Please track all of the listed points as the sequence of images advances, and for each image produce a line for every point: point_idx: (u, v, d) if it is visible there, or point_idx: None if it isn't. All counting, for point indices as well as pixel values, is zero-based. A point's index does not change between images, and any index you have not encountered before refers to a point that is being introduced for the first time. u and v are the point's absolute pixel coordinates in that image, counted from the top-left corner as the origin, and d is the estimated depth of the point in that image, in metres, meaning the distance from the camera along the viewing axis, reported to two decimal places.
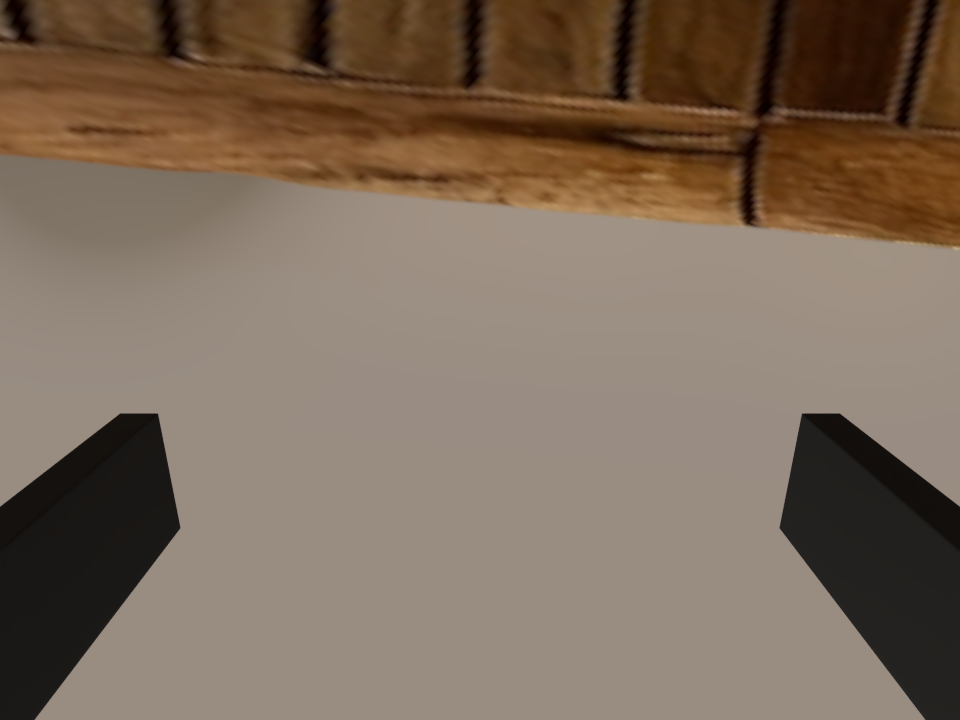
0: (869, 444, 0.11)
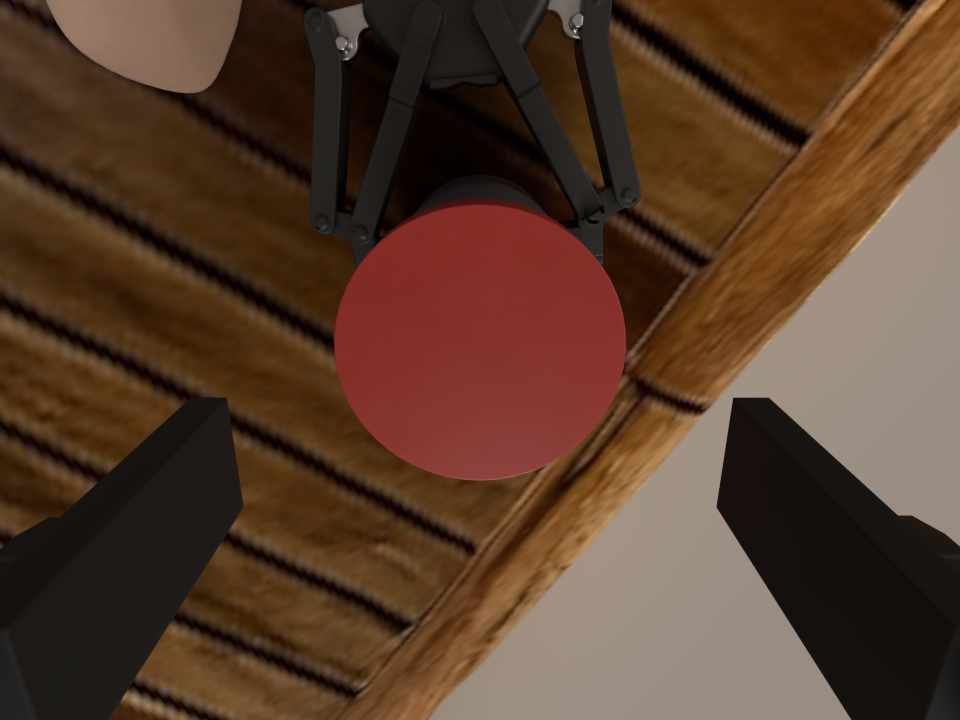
0: (789, 424, 0.12)
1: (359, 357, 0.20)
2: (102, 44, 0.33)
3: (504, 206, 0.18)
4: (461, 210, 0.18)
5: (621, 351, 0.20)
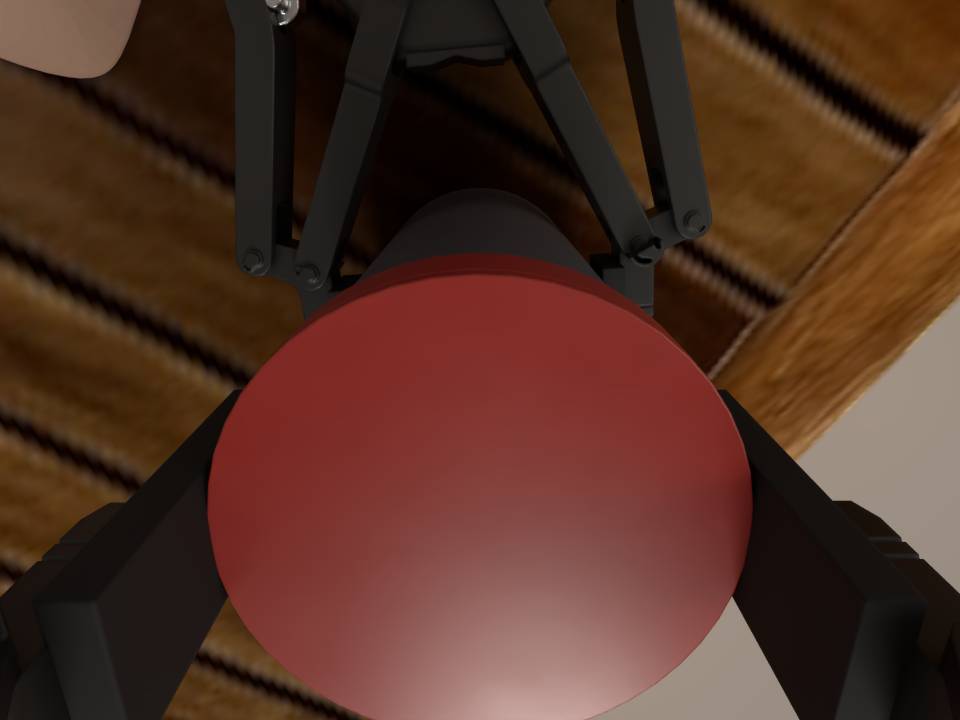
0: (741, 415, 0.12)
1: (256, 547, 0.11)
2: None
3: (529, 277, 0.09)
4: (443, 286, 0.09)
5: (743, 537, 0.11)
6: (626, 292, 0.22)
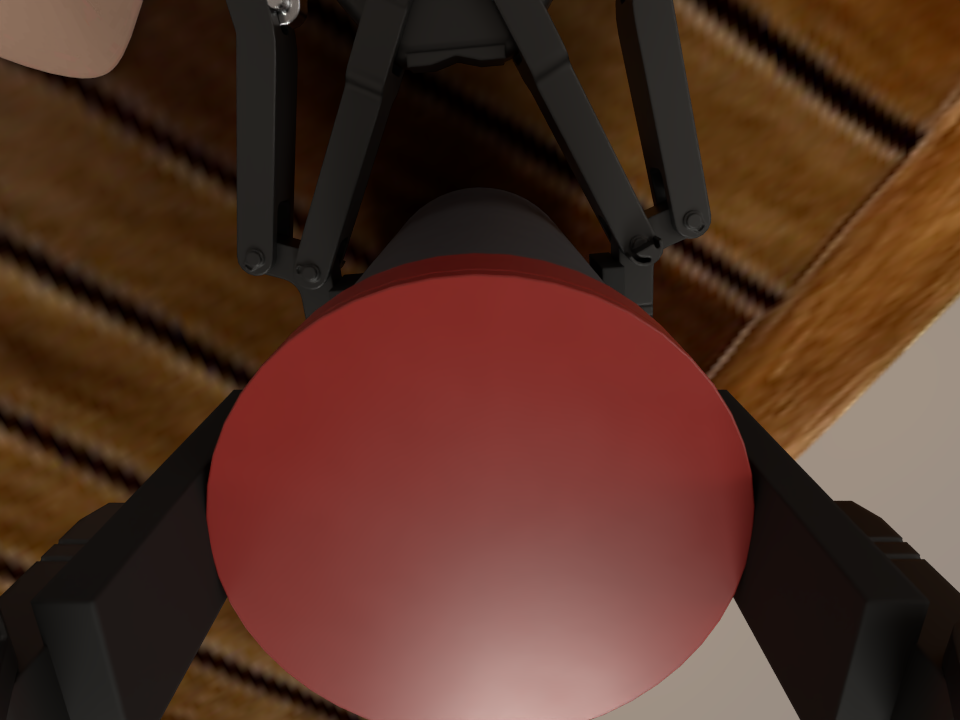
0: (742, 415, 0.12)
1: (460, 709, 0.12)
2: None
3: (211, 471, 0.10)
4: (217, 539, 0.11)
5: (516, 285, 0.09)
6: (626, 291, 0.22)
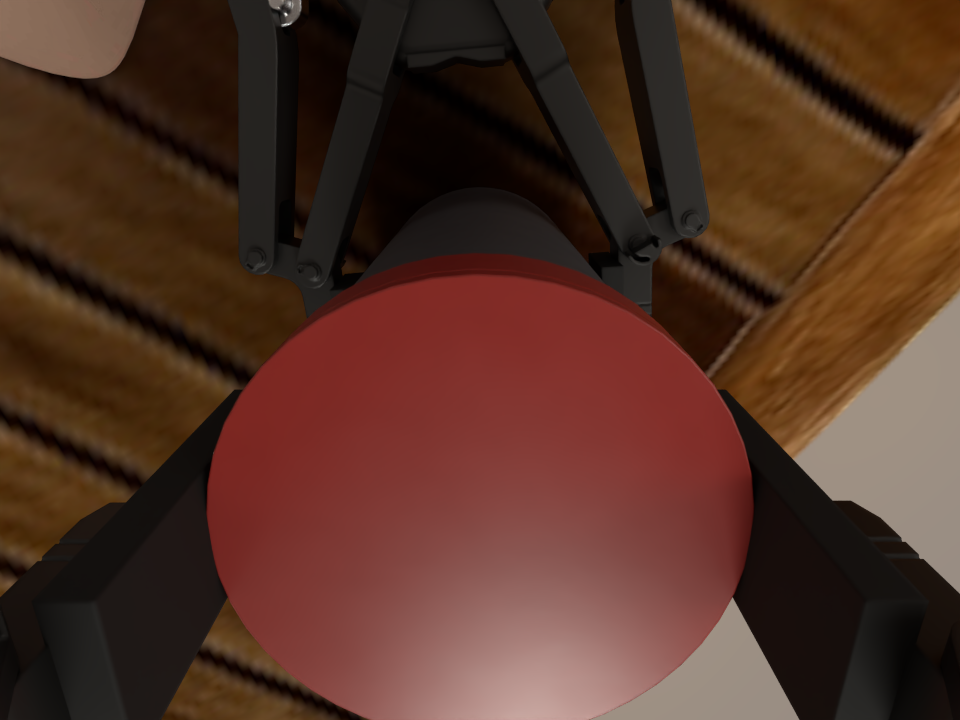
0: (741, 415, 0.12)
1: (693, 584, 0.11)
2: None
3: (383, 718, 0.12)
4: None
5: (215, 485, 0.10)
6: (624, 290, 0.22)
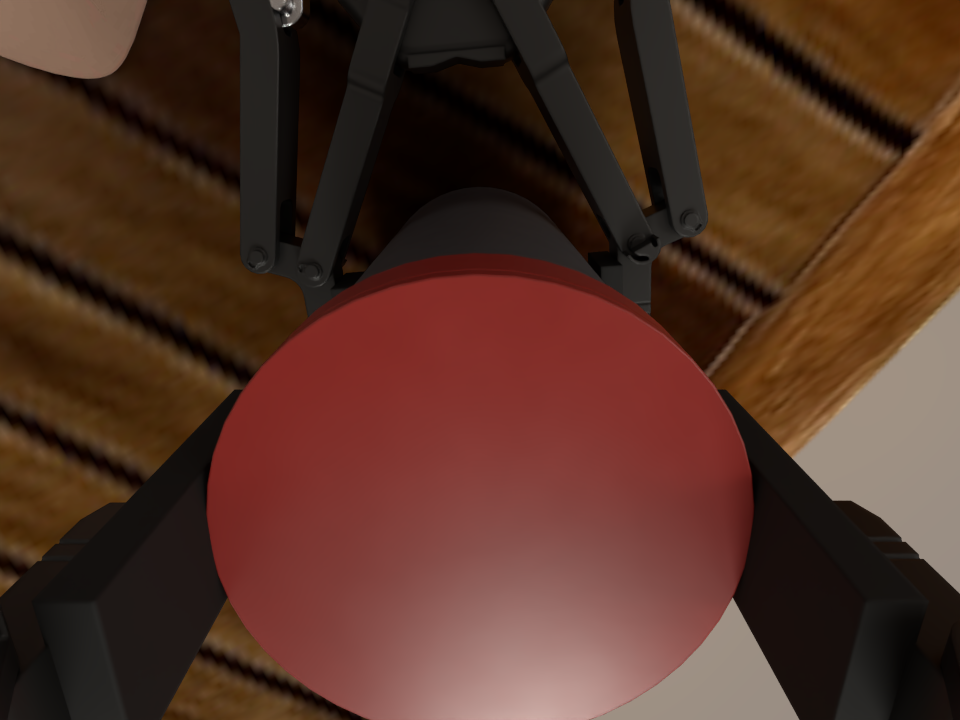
0: (741, 415, 0.12)
1: (570, 342, 0.09)
2: None
3: (691, 647, 0.12)
4: (723, 599, 0.11)
5: None
6: (624, 289, 0.22)
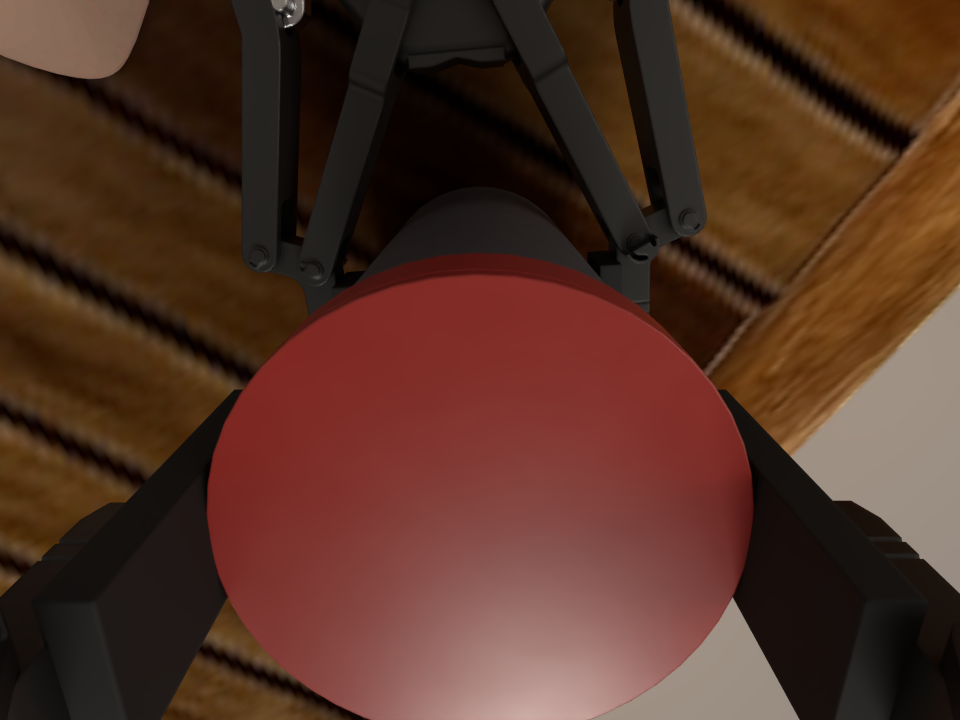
0: (741, 415, 0.12)
1: (269, 447, 0.10)
2: None
3: (671, 341, 0.09)
4: (600, 308, 0.09)
5: (694, 642, 0.11)
6: (623, 288, 0.23)
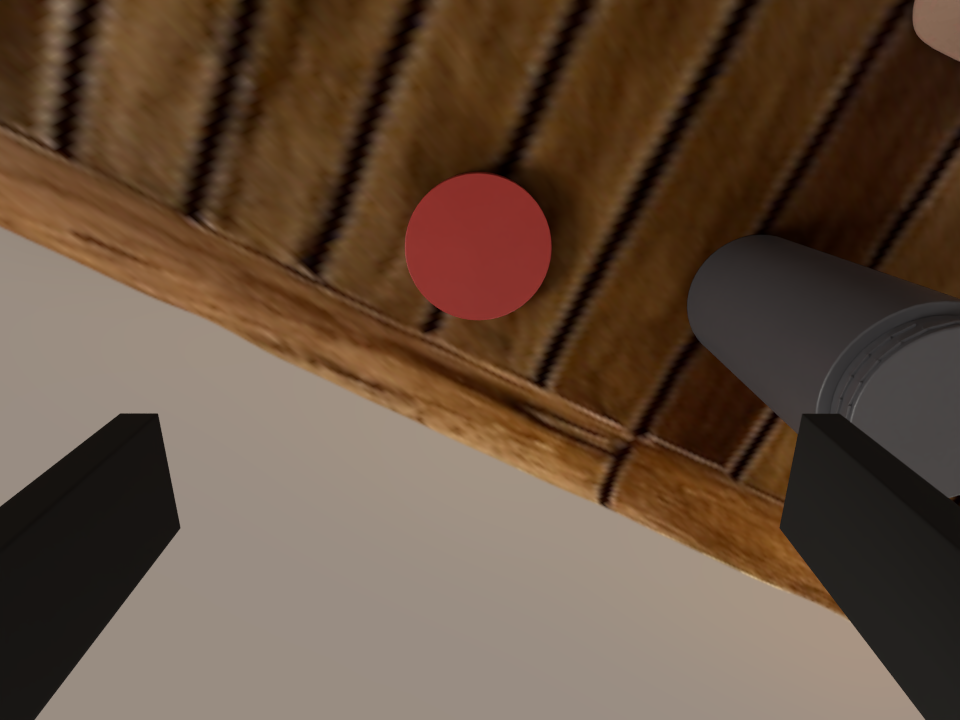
0: (869, 444, 0.11)
1: (423, 220, 0.39)
2: None
3: (525, 190, 0.38)
4: (507, 181, 0.38)
5: (539, 283, 0.40)
6: None
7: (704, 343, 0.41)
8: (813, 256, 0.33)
